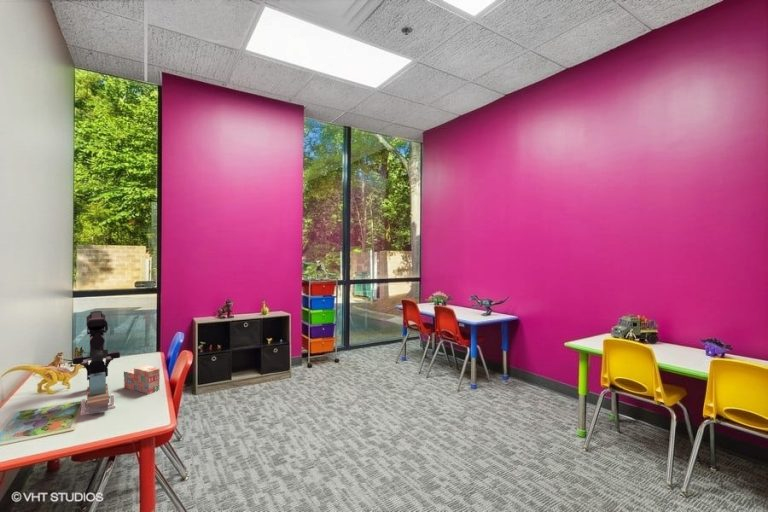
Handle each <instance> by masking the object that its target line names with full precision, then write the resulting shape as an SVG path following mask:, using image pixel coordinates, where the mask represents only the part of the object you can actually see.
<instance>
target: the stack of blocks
mask: <svg viewBox="0 0 768 512" xmlns="http://www.w3.org/2000/svg"><path fill="white" fill-rule="evenodd" d="M160 375H161V374H160V367H156V366H152V365H146V364H143V365H140V366H138V367H135V368H131V369H128V370H124V371H123V383H124V384H123V386H124V387H125V388H124V389H128V390H131V389H132V391H135V390H137V391H136V392H138V391H140V392H139V393H142V392H143V393H142V394H145V393H147V395H151V394H153V393H156V392H158V390H159V391H160ZM155 391H156V392H155ZM150 393H151V394H150Z"/></svg>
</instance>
